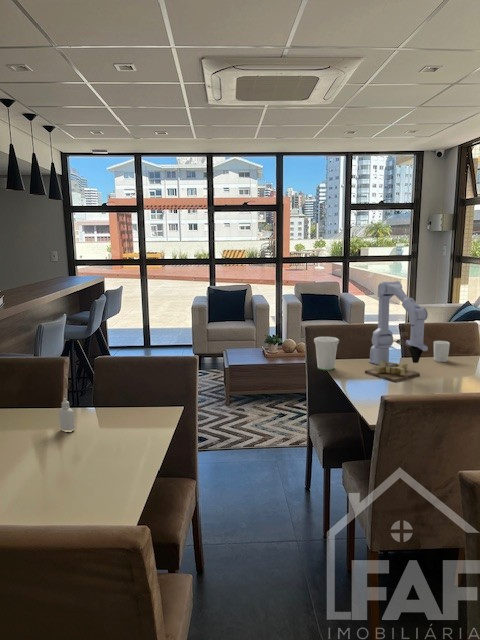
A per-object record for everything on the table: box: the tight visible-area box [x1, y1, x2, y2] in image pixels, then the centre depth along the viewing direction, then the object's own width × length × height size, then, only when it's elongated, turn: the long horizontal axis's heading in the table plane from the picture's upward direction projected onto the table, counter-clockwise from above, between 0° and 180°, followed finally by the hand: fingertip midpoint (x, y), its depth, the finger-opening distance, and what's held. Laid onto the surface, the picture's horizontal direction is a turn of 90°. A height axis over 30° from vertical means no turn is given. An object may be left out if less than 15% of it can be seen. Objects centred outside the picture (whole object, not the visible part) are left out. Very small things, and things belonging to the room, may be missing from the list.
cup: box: [313, 336, 340, 371], centre depth 231 cm, size 12×12×15 cm
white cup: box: [433, 340, 451, 363], centre depth 243 cm, size 8×8×10 cm
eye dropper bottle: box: [58, 397, 76, 430], centre depth 160 cm, size 4×6×12 cm
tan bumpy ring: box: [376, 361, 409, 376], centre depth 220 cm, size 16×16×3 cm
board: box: [364, 364, 421, 383], centre depth 220 cm, size 18×18×5 cm
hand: (415, 362), depth 212 cm, fingers closed
